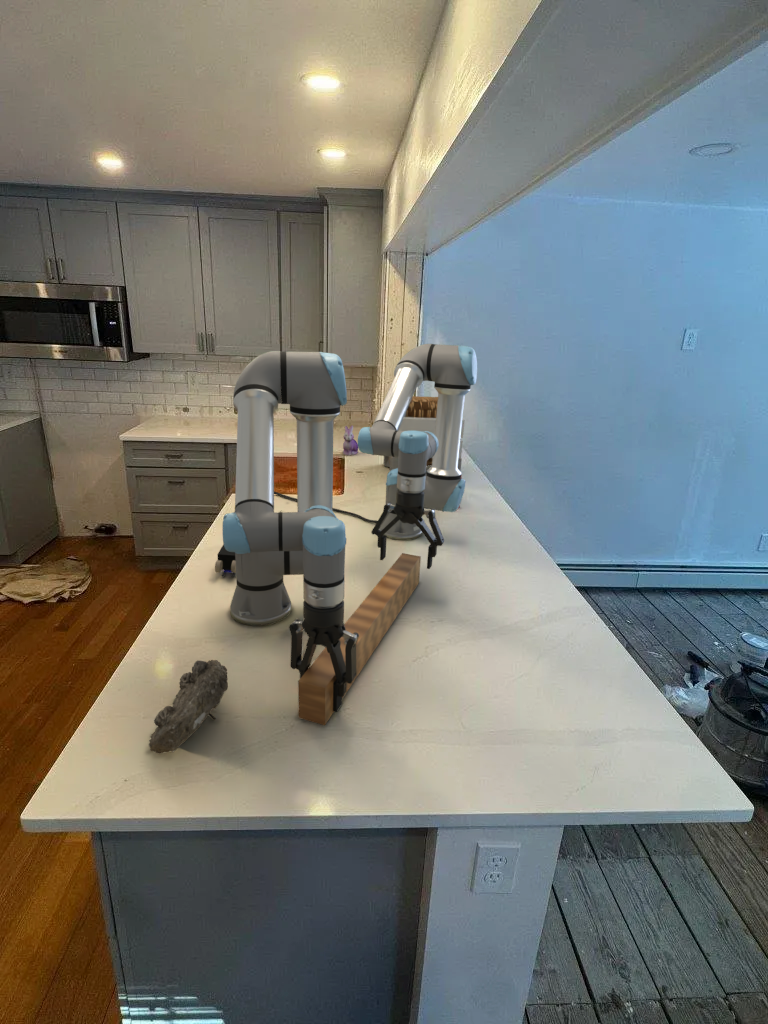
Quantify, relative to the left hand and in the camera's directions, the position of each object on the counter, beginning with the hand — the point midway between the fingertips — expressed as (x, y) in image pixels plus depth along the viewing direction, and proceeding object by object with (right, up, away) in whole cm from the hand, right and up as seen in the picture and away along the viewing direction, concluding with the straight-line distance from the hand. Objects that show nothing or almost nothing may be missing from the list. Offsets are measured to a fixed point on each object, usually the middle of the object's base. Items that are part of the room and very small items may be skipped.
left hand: (322, 703), depth 112 cm
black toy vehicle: (-33, +21, +55) cm, 67 cm away
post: (+9, +8, +24) cm, 27 cm away
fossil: (-24, -1, -5) cm, 24 cm away
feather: (-27, +37, +100) cm, 110 cm away
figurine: (-6, +69, +193) cm, 205 cm away
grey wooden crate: (+29, +57, +163) cm, 175 cm away
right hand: (+18, +24, +45) cm, 54 cm away
